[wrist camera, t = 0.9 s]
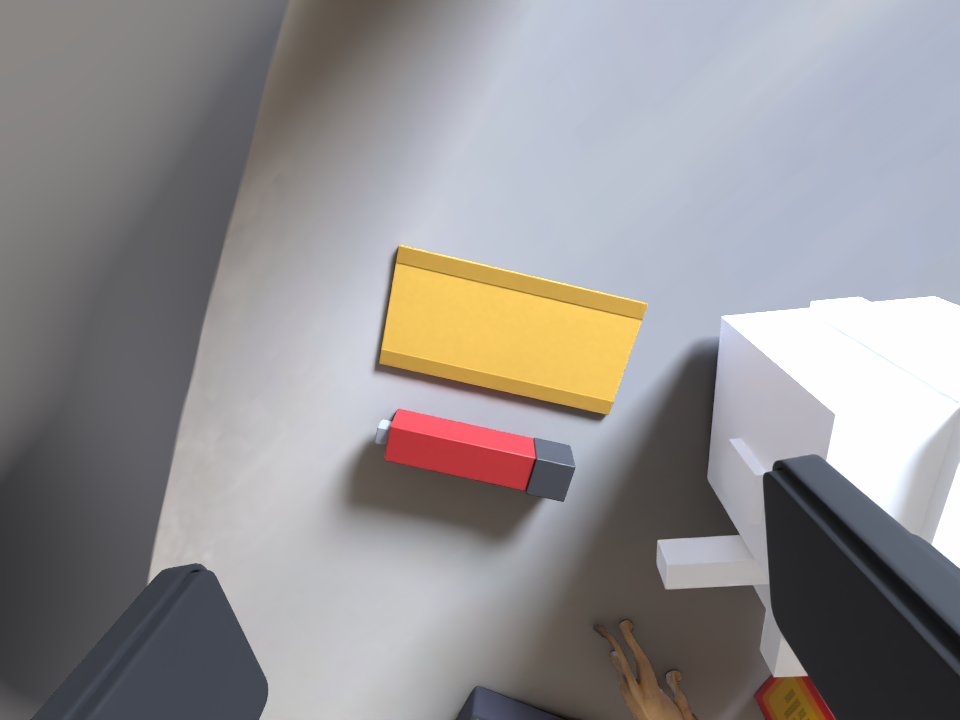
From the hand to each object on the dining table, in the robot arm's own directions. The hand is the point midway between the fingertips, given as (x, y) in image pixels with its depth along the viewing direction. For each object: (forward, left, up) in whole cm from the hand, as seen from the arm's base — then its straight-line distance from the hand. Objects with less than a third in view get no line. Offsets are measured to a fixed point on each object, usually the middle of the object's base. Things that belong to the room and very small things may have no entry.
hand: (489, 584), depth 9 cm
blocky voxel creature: (+10, +27, -30) cm, 41 cm away
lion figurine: (+33, +23, -30) cm, 50 cm away
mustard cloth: (+4, +2, -29) cm, 30 cm away
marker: (+14, +2, -29) cm, 33 cm away
